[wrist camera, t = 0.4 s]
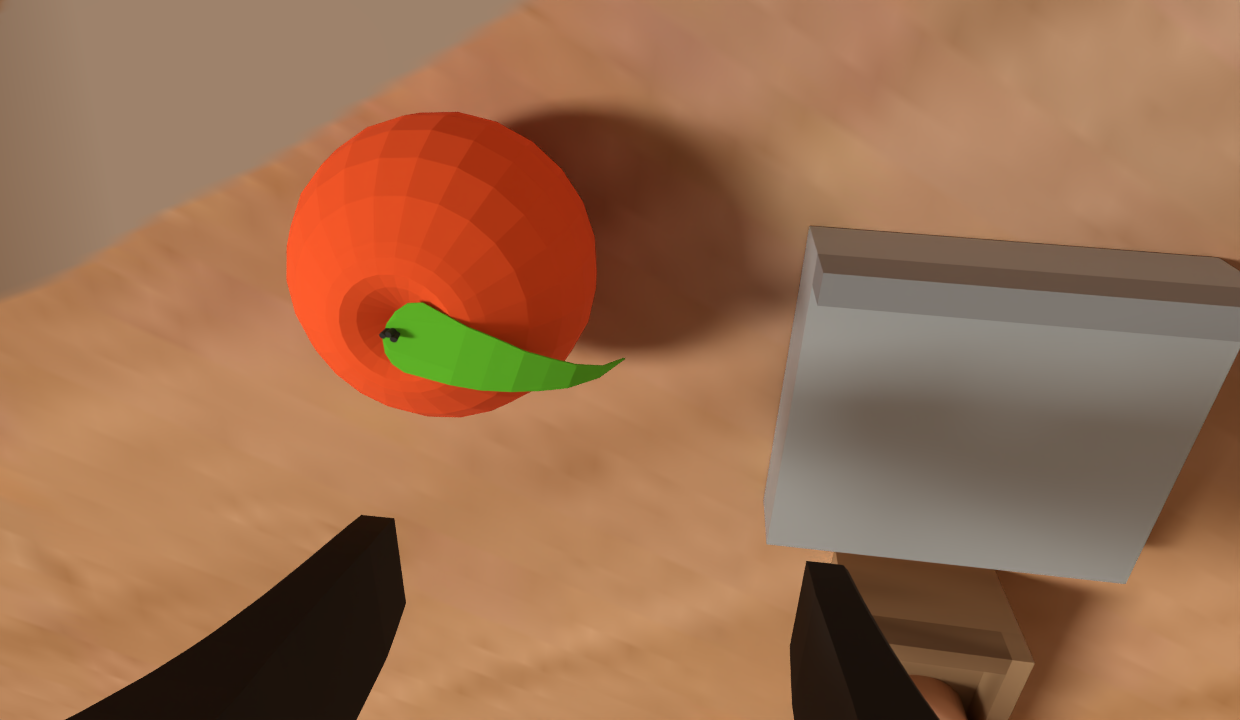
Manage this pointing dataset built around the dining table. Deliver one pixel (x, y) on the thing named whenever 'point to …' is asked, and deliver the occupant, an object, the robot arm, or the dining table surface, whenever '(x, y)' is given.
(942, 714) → the ball
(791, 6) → the dining table surface
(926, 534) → the dock
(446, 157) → the red fruit
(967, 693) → the open wooden crate
